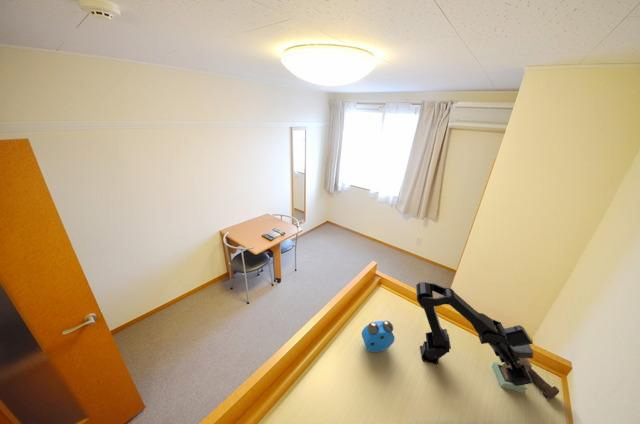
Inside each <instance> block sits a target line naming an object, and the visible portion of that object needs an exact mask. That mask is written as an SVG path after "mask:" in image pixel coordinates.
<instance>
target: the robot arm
mask: <svg viewBox="0 0 640 424" xmlns="http://www.w3.org/2000/svg"><path fill="white" fill-rule="evenodd" d="M415 291H416V292H415V293H416V301H417V302H418V304H419V306H420V307H421V308H422V309H423V310H424V313H425V316H426V318H427V322H428V324H429V328H430V332H428V331H427V332H426V333H425V341H423V342H422V343H423V344H422V345H420V346H419V351H420V355H421V360H422V361H423V362H427V363H430V364H435V365H439V359H440V358H442V357H443V356H445V355H446V354H447V353H450V351H451V349H452V346H451V341H450V340H451V339H450V336H449V333H448V330H447V328H443V327H442V326H441V324H440V319H439V316H438V314H437V313H438V312H437V311H436V307H439V306H442V305H443V306H444V305H448V306H450V307H452V309H454V310H455V311H456V312H457V313H459V314H460V316H462V317H463V318H465V319H466V321H468V322H469V323H470V324H471V325H472V327H473V329H474V330H475V332H476V333H477V334H478V335H477V337H478V339H479V341H480V345H484V344H488V345H489V346H490V347H491V349H492V350H493V352H494V355H496V357H498V358H499V361H500V362H501V364H504V363H505V362H506V364H507V365H508V366H511V367H509V368H506V370H507V371H506V373H507V375H508V377H509V379H510V381H511V383H512V384H513V385H515V386H519V385H525V386H526V385H531V384H533V382H534V381H533V380H532V379H531V377H530V376H529V374H528V372H527V370H526V369H525V367H524V365H521V364H519V363H517V361H520V359H519V358H528V359H533V358H534V349H532V347H531V345H533V341H532V339H531V338H530V336H529V333H528V332H527V331H526V329H525V328H524V327H523V326H521V325H520V324H519V325H514V326H511V327H506V328H505V327H504V326H503V324H502V322H500V321H497V320H496V319H492V318H491V317H489V316H488V315H486V314H485V313H481V312H478V311H477V310H476V309H475V308H473V307H472V306H471V305H470V304H469V303H467V301H465V300H464V299H463V298H462V297H460V295H458V294H457V293H456V292H455V290H454V289H453V288H451V287H443V286H441V285H439V284H437V283H433V282H425V281H424V282H418V283H417V284H416V285H415ZM434 292H435V293H437V294H439V295H441V296H440V297H434ZM513 362H514V363H515V364H514V363H513ZM510 364H511V365H510Z"/></svg>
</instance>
